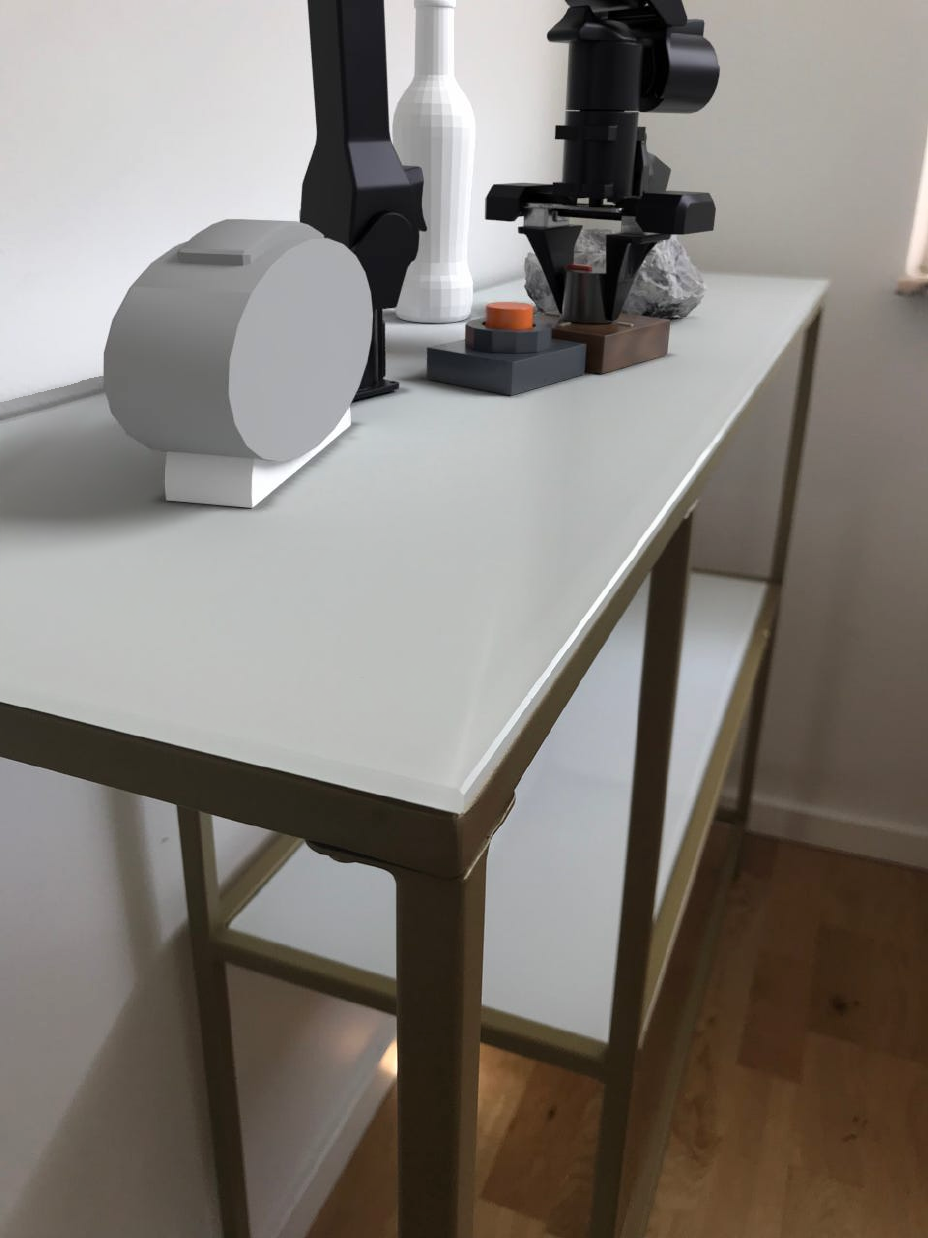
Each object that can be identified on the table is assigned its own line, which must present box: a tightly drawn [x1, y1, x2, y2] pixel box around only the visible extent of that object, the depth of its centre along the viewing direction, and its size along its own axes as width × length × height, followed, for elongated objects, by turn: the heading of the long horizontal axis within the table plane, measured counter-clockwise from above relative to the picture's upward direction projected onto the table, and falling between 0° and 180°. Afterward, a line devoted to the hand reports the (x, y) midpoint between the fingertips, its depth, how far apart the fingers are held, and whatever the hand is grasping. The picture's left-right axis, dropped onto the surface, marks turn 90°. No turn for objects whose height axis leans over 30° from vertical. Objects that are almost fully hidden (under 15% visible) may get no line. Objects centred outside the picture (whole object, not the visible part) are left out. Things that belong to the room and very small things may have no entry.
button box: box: [426, 317, 586, 396], centre depth 79 cm, size 10×8×4 cm
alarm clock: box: [102, 218, 373, 509], centre depth 56 cm, size 23×6×13 cm, turn 169°
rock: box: [523, 227, 708, 319], centre depth 106 cm, size 18×15×10 cm
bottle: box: [391, 0, 477, 324], centre depth 98 cm, size 8×8×30 cm
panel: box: [533, 310, 671, 375], centre depth 88 cm, size 11×10×3 cm
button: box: [485, 301, 534, 329], centre depth 78 cm, size 4×4×2 cm
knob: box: [562, 264, 612, 324], centre depth 86 cm, size 4×4×4 cm
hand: (588, 316), depth 87 cm, fingers closed on knob, 4 cm apart
